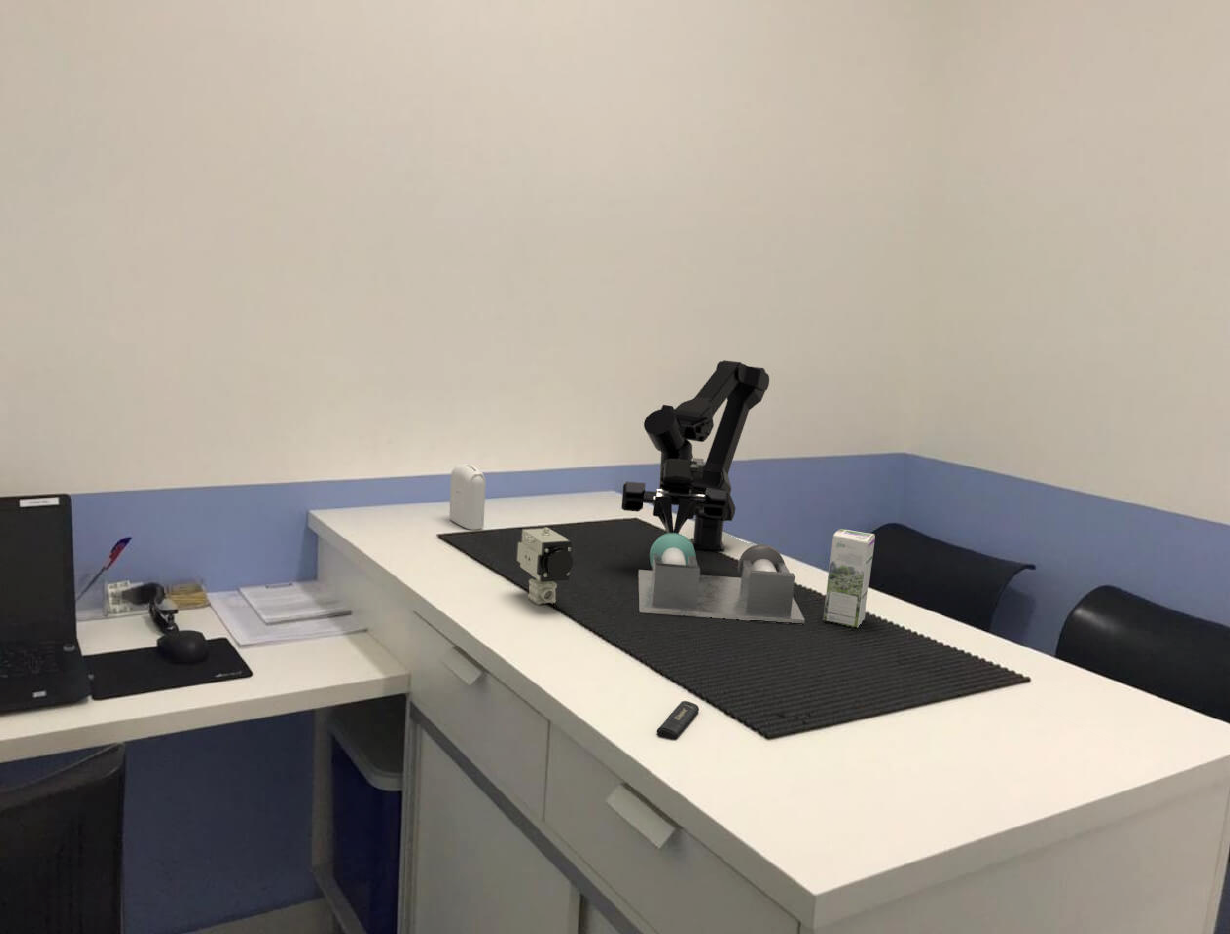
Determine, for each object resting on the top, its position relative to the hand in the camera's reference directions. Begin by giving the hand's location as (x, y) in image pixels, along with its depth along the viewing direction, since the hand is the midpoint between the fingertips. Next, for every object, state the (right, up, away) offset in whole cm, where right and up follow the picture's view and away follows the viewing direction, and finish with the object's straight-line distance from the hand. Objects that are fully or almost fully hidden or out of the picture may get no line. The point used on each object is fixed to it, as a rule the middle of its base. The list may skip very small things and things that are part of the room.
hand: (672, 540), depth 179 cm
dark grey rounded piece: (+14, -9, -8) cm, 19 cm away
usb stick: (-3, -18, -57) cm, 59 cm away
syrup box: (+27, -12, -13) cm, 32 cm away
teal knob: (0, -7, -5) cm, 9 cm away
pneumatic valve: (-22, -9, -15) cm, 28 cm away
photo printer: (-40, +1, +31) cm, 51 cm away
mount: (+7, -9, -6) cm, 13 cm away
